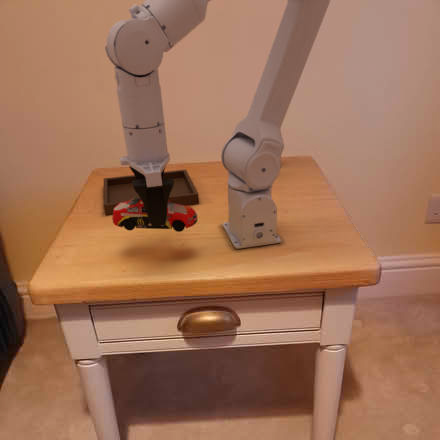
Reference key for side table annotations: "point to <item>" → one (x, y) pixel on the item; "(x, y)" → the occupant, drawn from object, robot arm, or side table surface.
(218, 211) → the side table surface
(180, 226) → the race car
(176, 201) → the tray
